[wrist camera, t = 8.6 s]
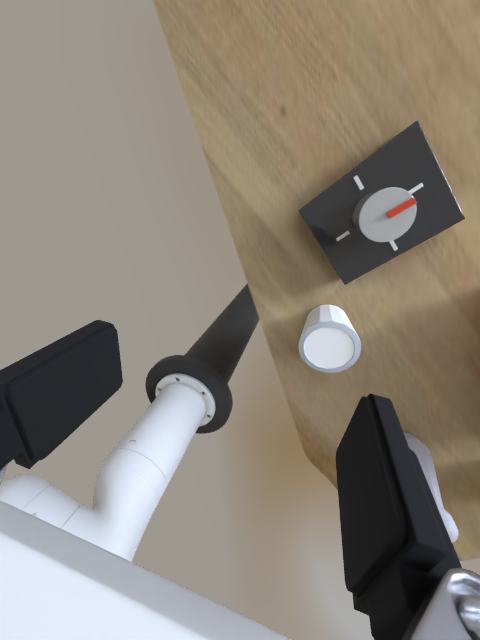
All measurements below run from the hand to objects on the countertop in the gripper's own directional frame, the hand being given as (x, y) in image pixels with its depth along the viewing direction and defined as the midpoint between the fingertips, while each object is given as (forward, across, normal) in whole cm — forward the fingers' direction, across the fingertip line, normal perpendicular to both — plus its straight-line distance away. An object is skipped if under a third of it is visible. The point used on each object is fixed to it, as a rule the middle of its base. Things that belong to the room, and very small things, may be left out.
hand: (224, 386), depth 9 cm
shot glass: (+26, -7, +8) cm, 29 cm away
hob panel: (+26, -8, -6) cm, 28 cm away
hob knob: (+23, -8, -6) cm, 25 cm away
